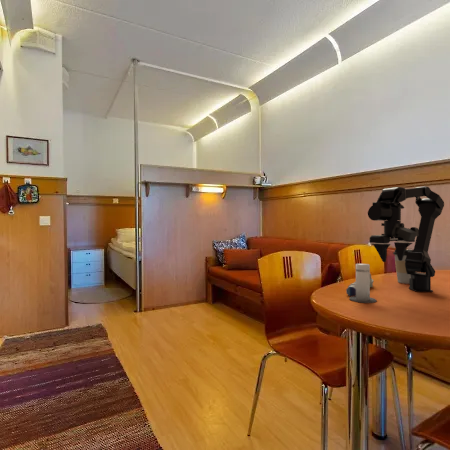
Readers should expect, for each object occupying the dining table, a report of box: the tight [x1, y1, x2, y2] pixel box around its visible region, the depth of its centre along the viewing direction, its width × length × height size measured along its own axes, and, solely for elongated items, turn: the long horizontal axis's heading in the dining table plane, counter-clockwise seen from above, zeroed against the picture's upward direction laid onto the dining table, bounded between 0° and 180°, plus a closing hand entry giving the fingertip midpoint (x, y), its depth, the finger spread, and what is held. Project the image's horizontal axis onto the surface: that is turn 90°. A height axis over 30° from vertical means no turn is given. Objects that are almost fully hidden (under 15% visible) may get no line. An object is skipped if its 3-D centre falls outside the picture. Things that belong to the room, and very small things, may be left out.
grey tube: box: [345, 273, 375, 297], centre depth 127 cm, size 5×7×25 cm
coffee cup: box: [392, 249, 413, 284], centre depth 143 cm, size 9×9×15 cm
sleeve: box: [355, 263, 371, 301], centre depth 111 cm, size 5×5×12 cm
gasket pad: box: [348, 295, 378, 304], centre depth 111 cm, size 9×9×1 cm
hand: (392, 261), depth 118 cm, fingers open, 9 cm apart
